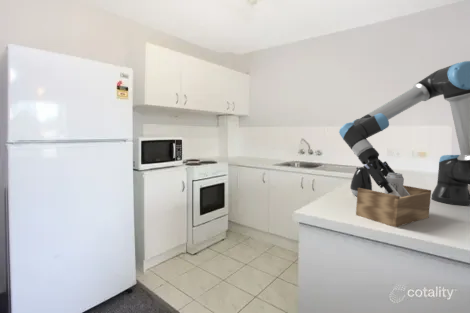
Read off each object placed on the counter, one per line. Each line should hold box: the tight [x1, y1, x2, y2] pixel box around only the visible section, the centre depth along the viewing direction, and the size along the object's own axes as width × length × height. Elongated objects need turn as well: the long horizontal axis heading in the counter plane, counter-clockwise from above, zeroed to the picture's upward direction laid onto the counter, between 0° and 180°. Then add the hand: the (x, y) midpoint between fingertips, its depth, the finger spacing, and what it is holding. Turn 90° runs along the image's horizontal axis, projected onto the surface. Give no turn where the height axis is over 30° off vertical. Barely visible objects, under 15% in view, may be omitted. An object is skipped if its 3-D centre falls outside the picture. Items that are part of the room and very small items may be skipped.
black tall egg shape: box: [349, 166, 373, 197], centre depth 133 cm, size 10×10×15 cm
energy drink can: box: [384, 172, 405, 197], centre depth 100 cm, size 6×6×15 cm
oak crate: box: [355, 184, 432, 228], centre depth 100 cm, size 15×24×11 cm, turn 120°
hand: (403, 198), depth 97 cm, fingers closed on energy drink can, 6 cm apart
